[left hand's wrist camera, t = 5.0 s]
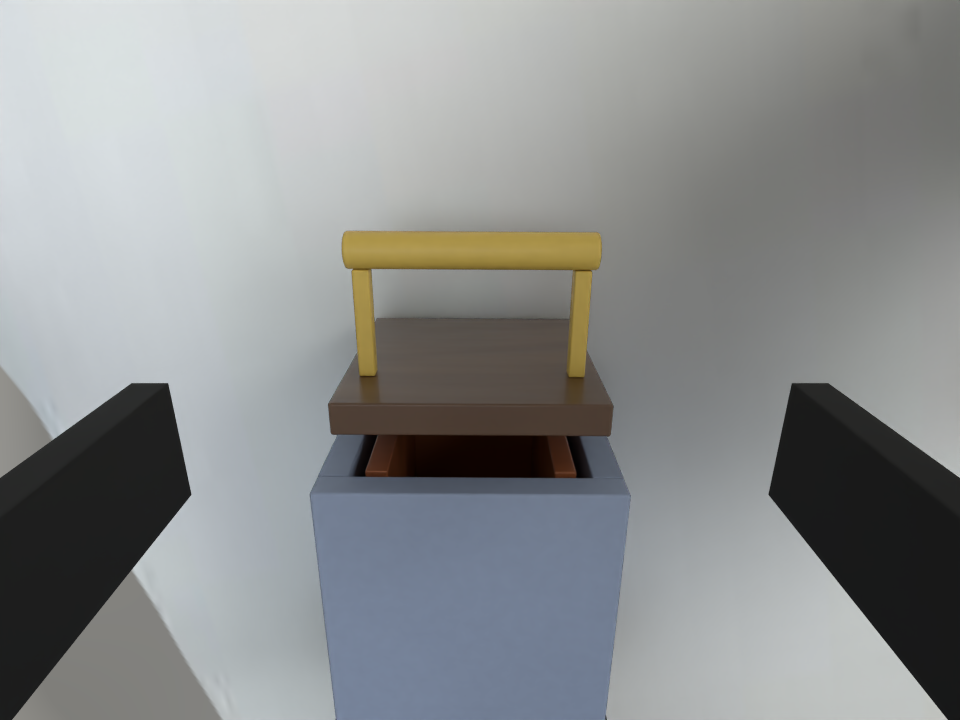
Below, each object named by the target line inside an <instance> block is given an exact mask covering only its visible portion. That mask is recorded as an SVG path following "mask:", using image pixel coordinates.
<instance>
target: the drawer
mask: <svg viewBox="0 0 960 720" xmlns="http://www.w3.org/2000/svg"><path fill="white" fill-rule="evenodd" d="M601 254H602V242H601V236H600V234H599V233H597V232H451V231H346V232H344V234H343V238H342V258H343V262H344V265H345V267H346V268H348V269H353V270H352V285H353V298H354V312H355V325H356V339H357V354H356V356H355V358H354V359H353V361H352V363H351V365H350V366H349V368H348V370H347V372H346V373H345V375H344V377H343V379H342V380H341V382H340V384H339V386H338V387H337V389H336V391H335V393H334V395H333V396H332V398H331V400H330V402H329V404H328V409H329V420H330V430H331V434H333V435H378V436H377V439H376V442H375V445H374V448H373V451H372V454H371V456H370V459H369V462H368V465H367V468H366V471H365V475H366V477H458V478H576V470H575V466H574V462H573V459H572V455H571V452H570V448H569V445H568V441H567V437H566V436H610V435H611V427H612V417H613V404H612V402H611V400H610V398H609V396H608V394H607V392H606V389H605V387H604V385H603V383H602V381H601V379H600V377H599V375H598V373H597V371H596V369H595V367H594V365H593V363H592V361H591V358H590V356H589V354H588V352H587V337H588V323H589V310H590V297H591V283H592V271H591V270H597V269H598V268H599V266H600V262H601ZM371 269H481V270H573V276H572V291H571V307H570V319H419V318H377V319H376V321H374V305H373V289H372V273H371Z"/></svg>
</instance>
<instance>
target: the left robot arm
mask: <svg viewBox="0 0 960 720" xmlns="http://www.w3.org/2000/svg"><path fill="white" fill-rule="evenodd" d="M190 496H191V490H190V486H189V481H188V476H187V471H186V466H185V462H184V457H183V452H182V447H181V443H180V438H179V433H178V428H177V423H176V419H175V414H174V409H173V404H172V399H171V395H170V390H169V385H168V383H131V384H130V385H129V386H127V387H126V388H125V389H123V390H122V391H120V392H119V393H118V394H116V395H115V396H113V397H112V398H111V399H109V400H108V401H107V402H105V403H104V404H102V405H101V406H100V407H98V408H97V409H95V410H94V411H93V412H91V413H90V414H88V415H87V416H86V417H84V418H83V419H82V420H80V421H79V422H77V423H76V424H75V425H73V426H72V427H70V428H69V429H68V430H66V431H65V432H63V433H62V434H61V435H59V436H58V437H57V438H55V439H54V440H52V441H51V442H50V443H48V444H47V445H45V446H44V447H43V448H41V449H40V450H39V451H37V452H36V453H34V454H33V455H32V456H30V457H29V458H27V459H26V460H25V461H23V462H22V463H20V464H19V465H18V466H16V467H15V468H13V469H12V470H11V471H9V472H8V473H7V474H5V475H4V476H2V477H1V478H0V720H12V719H13V718H14V717H15V715H16V714H17V713H18V712H19V710H20V709H21V708H22V707H23V705H24V704H25V703H26V702H27V700H28V699H29V698H30V697H31V695H32V694H33V693H34V692H35V690H36V689H37V688H38V686H39V685H40V684H41V683H42V681H43V680H44V679H45V678H46V676H47V675H48V674H49V673H50V671H51V670H52V669H53V668H54V666H55V665H56V664H57V663H58V661H59V660H60V659H61V658H62V656H63V655H64V654H65V653H66V651H67V650H68V649H69V648H70V646H71V645H72V644H73V643H74V641H75V640H76V639H77V637H78V636H79V635H80V634H81V633H82V631H83V630H84V629H85V628H86V626H87V625H88V624H89V623H90V621H91V620H92V619H93V617H94V616H95V615H96V614H97V612H98V611H99V610H100V609H101V607H102V606H103V605H104V604H105V602H106V601H107V600H108V599H109V597H110V596H111V595H112V594H113V592H114V591H115V590H116V589H117V587H118V586H119V585H120V584H121V582H122V581H123V580H124V579H125V577H126V576H127V575H128V574H129V572H130V571H131V570H132V569H133V567H134V566H135V565H136V564H137V562H138V561H139V560H140V559H141V557H142V556H143V555H144V553H145V552H146V551H147V550H148V548H149V547H150V546H151V545H152V543H153V542H154V541H155V540H156V538H157V537H158V536H159V535H160V533H161V532H162V531H163V530H164V528H165V527H166V526H167V525H168V523H169V522H170V521H171V520H172V518H173V517H174V516H175V515H176V513H177V512H178V511H179V510H180V508H181V507H182V506H183V505H184V503H185V502H186V501H187V500H188V498H189V497H190ZM769 496H770V497H771V498H772V500H773V501H774V502H775V503H776V505H777V506H778V507H779V508H780V510H781V511H782V512H783V513H784V515H785V516H786V517H787V518H788V520H789V521H790V522H791V523H792V525H793V526H794V527H795V528H796V530H797V531H798V532H799V533H800V535H801V536H802V537H803V538H804V540H805V541H806V542H807V543H808V545H809V546H810V547H811V548H812V550H813V551H814V552H815V554H816V555H817V556H818V557H819V559H820V560H821V561H822V562H823V564H824V565H825V566H826V567H827V569H828V570H829V571H830V572H831V574H832V575H833V576H834V577H835V579H836V580H837V581H838V582H839V584H840V585H841V586H842V587H843V589H844V590H845V591H846V592H847V594H848V595H849V596H850V597H851V599H852V600H853V601H854V602H855V604H856V605H857V606H858V607H859V609H860V610H861V611H862V612H863V614H864V615H865V616H866V618H867V619H868V620H869V621H870V623H871V624H872V625H873V626H874V628H875V629H876V630H877V631H878V633H879V634H880V635H881V636H882V638H883V639H884V640H885V641H886V643H887V644H888V645H889V646H890V648H891V649H892V650H893V651H894V653H895V654H896V655H897V656H898V658H899V659H900V660H901V661H902V663H903V664H904V665H905V666H906V668H907V669H908V670H909V671H910V673H911V674H912V675H913V676H914V678H915V679H916V680H917V682H918V683H919V684H920V685H921V687H922V688H923V689H924V690H925V692H926V693H927V694H928V695H929V697H930V698H931V699H932V700H933V702H934V703H935V704H936V705H937V707H938V708H939V709H940V710H941V712H942V713H943V714H944V715H945V717H946V718H947V719H948V720H960V478H959V477H958V476H956V475H955V474H953V473H952V472H951V471H949V470H948V469H947V468H945V467H944V466H942V465H941V464H940V463H938V462H937V461H935V460H934V459H933V458H931V457H930V456H928V455H927V454H926V453H924V452H923V451H922V450H920V449H919V448H917V447H916V446H915V445H913V444H912V443H910V442H909V441H908V440H906V439H905V438H903V437H902V436H901V435H899V434H898V433H897V432H895V431H894V430H892V429H891V428H890V427H888V426H887V425H885V424H884V423H883V422H881V421H880V420H878V419H877V418H876V417H874V416H873V415H872V414H870V413H869V412H867V411H866V410H865V409H863V408H862V407H860V406H859V405H858V404H856V403H855V402H853V401H852V400H851V399H849V398H848V397H847V396H845V395H844V394H842V393H841V392H840V391H838V390H837V389H835V388H834V387H833V386H831V385H830V384H829V383H792V385H791V390H790V395H789V399H788V404H787V409H786V414H785V419H784V423H783V428H782V433H781V438H780V443H779V447H778V452H777V457H776V462H775V466H774V471H773V476H772V481H771V486H770V490H769Z"/></svg>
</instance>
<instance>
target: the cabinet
mask: <svg viewBox="0 0 960 720" xmlns="http://www.w3.org/2000/svg"><path fill="white" fill-rule="evenodd" d="M377 436H378V435H337V437H336V439H335V442H334V444H333V446H332V448H331V450H330V452H329V454H328V456H327V458H326V460H325V462H324V465H323V467H322V469H321V471H320V473H319V475H318V478H317V480H316V482H315V484H314V486H313V488H312V491H311V493H310V500H311V509H312V517H313V526H314V534H315V543H316V552H317V560H318V569H319V577H320V586H321V595H322V603H323V612H324V620H325V629H326V637H327V646H328V655H329V663H330V672H331V680H332V689H333V698H334V706H335V715H336V720H605V716H606V707H607V698H608V690H609V681H610V672H611V664H612V655H613V646H614V638H615V629H616V620H617V611H618V603H619V594H620V585H621V577H622V568H623V559H624V551H625V542H626V533H627V524H628V516H629V507H630V498H631V496H630V493H629V491H628V488H627V486H626V483H625V481H624V478H623V475H622V473H621V470H620V468H619V466H618V463H617V461H616V458H615V456H614V453H613V451H612V449H611V446H610V444H609V441H608V439H607V436H566V437H567V441H568V445H569V448H570V452H571V455H572V459H573V462H574V466H575V470H576V478H458V477H366V475H365V471H366V468H367V465H368V462H369V459H370V456H371V454H372V451H373V448H374V445H375V442H376V439H377Z"/></svg>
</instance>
